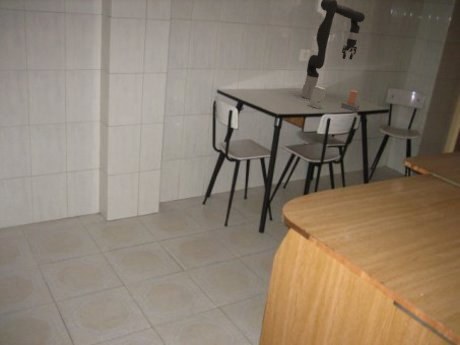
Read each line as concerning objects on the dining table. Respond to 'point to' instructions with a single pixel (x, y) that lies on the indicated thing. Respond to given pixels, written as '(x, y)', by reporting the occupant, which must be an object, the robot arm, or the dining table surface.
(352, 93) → the brick pillar
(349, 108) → the charcoal block
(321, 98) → the skincare box
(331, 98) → the dining table surface
